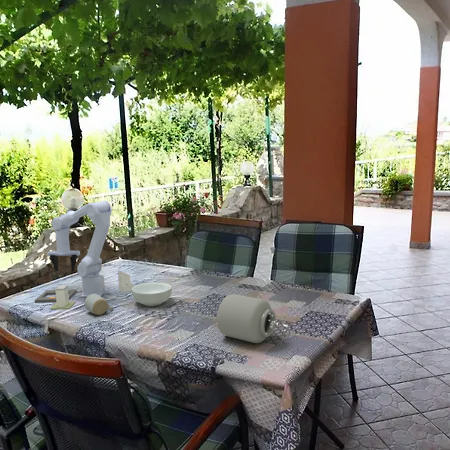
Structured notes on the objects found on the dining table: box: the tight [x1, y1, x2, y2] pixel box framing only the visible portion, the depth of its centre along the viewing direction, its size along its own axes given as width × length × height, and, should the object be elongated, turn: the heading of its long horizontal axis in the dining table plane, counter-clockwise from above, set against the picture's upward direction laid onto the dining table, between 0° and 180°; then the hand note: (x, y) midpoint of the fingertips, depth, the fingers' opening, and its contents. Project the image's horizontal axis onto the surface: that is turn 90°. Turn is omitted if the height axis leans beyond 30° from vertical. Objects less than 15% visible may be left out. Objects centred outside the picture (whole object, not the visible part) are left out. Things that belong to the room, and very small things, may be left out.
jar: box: [216, 293, 287, 344], centre depth 157 cm, size 19×15×25 cm
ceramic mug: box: [84, 294, 113, 316], centre depth 188 cm, size 10×8×7 cm
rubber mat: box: [49, 301, 76, 310], centre depth 197 cm, size 8×8×1 cm
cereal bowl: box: [131, 282, 173, 307], centre depth 198 cm, size 17×17×7 cm
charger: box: [54, 284, 70, 307], centre depth 196 cm, size 4×5×8 cm
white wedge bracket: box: [117, 270, 135, 294], centre depth 215 cm, size 4×10×9 cm, turn 146°
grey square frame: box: [34, 289, 78, 304], centre depth 208 cm, size 14×14×2 cm
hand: (65, 270), depth 218 cm, fingers open, 7 cm apart
